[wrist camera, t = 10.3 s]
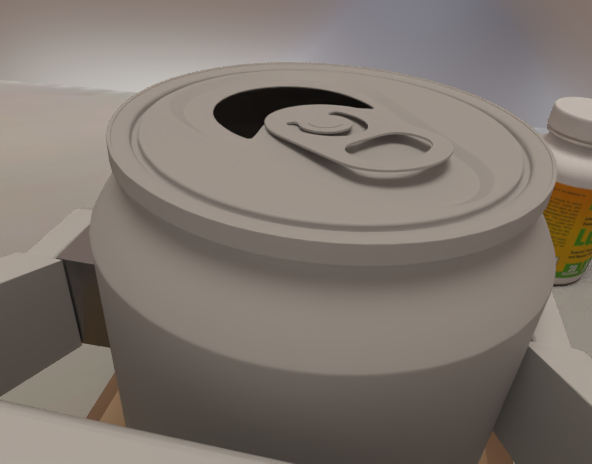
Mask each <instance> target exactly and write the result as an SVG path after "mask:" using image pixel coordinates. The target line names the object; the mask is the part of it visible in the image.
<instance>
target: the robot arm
mask: <svg viewBox="0 0 592 464" xmlns="http://www.w3.org/2000/svg"><path fill="white" fill-rule="evenodd" d="M92 211H93V209H90V208H76V209H75V210H74V211H73V212H72V213H71V214H69V215H68V216H67V217H66V218H65V219H64V220H63V221H62V222H60V223H59V224H58V225H57V226H56V227H55V228H54V229H53V230H51V231H50V232H49V233H48V234H47V235H46V236H45V237H44V238H42V239H41V240H40V241H39V242H38V243H37V244H36V245H35V246H33V247H32V248H31V249H30V250H29V251H28V252H27V253H26V254H25V253H19V252H16V253H13V254H11V255H8V256H5V257H2V258H0V396H2V395H3V394H5V393H7V392H8V391H10V390H11V389H13V388H15V387H16V386H18V385H19V384H21V383H23V382H24V381H26V380H27V379H29V378H31V377H32V376H34V375H36V374H37V373H39V372H40V371H42V370H44V369H45V368H47V367H48V366H50V365H52V364H53V363H55V362H56V361H58V360H60V359H61V358H63V357H64V356H66V355H68V354H69V353H71V352H72V351H74V350H76V349H77V348H79V347H80V346H82V343H85V344H91V345H97V346H103V347H109V348H110V343H109V338H108V333H107V328H106V323H105V318H104V312H103V307H102V302H101V297H100V292H99V287H98V282H97V276H96V271H95V266H94V261H93V256H92V251H91V245H90V238H89V226H90V220H91V215H92ZM493 432H494V433H495V435H496V436H497V438H498V439H499V440H500V442H501V443H502V445H503V446H504V448H505V449H506V451H507V452H508V454H509V455H510V457H511V458H512V460H513V461H514V462H515V464H592V358H590V357H589V356H588V355H587V354H586V353H585V352H583V351H582V350H576V349H572V346H571V343H570V341H569V338H568V335H567V332H566V329H565V327H564V324H563V321H562V318H561V315H560V312H559V310H558V307H557V304H556V301H555V298H554V296H553V293H552V291H551V294H550V296H549V299H548V301H547V303H546V306H545V308H544V310H543V313H542V315H541V317H540V320H539V322H538V324H537V327H536V329H535V332H534V334H533V336H532V339H531V341H530V343H529V346H528V348H527V350H526V353H525V355H524V357H523V360H522V362H521V364H520V367H519V369H518V372H517V374H516V376H515V379H514V381H513V383H512V386H511V388H510V390H509V393H508V395H507V397H506V400H505V402H504V404H503V407H502V409H501V412H500V414H499V416H498V419H497V421H496V423H495V426H494V428H493ZM0 464H294V463H289V462H285V461H280V460H275V459H271V458H266V457H262V456H257V455H252V454H248V453H243V452H238V451H234V450H229V449H225V448H220V447H215V446H211V445H206V444H202V443H197V442H192V441H188V440H183V439H178V438H174V437H169V436H165V435H160V434H155V433H151V432H146V431H141V430H137V429H132V428H128V427H123V426H118V425H114V424H109V423H105V422H100V421H95V420H91V419H86V418H81V417H77V416H72V415H68V414H63V413H58V412H54V411H49V410H44V409H40V408H35V407H31V406H26V405H21V404H17V403H12V402H8V401H3V400H0Z"/></svg>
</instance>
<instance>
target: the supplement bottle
mask: <svg viewBox="0 0 592 464" xmlns="http://www.w3.org/2000/svg"><path fill="white" fill-rule="evenodd" d="M547 129H548V130H549V131H550V132H549V133H546V134H542V135H540V136H541V137H542V138H543V139H544V140H545V141H546V143H547V144H548V145H549V147H550V149H551V150H552V152H553V154H554V157H555V160H556V164H557V178H556V183H555V186H554V189H553V192H552V194H551V197H550V200H549V202H548V205H547V207H546V209H545V210H544V211H543V215H544V218H545V220H546V223H547V226H548V229H549V232H550V236H551V239H552V243H553V246H554V250H555V258H556V273H555V280H554V284H568V283H571V282H574V281H576V280H578V279H579V278H580V277H581V276H582V275H583V274H584V272H585V270H586V268H587V266H588V264H589V262H590V260H591V258H592V99H590V98H582V97H565V98H560V99H558V100H556V102H555V103H554V106H553V108H552V111H551V114H550V116H549V119H548V124H547Z"/></svg>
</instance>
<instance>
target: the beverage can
mask: <svg viewBox="0 0 592 464" xmlns="http://www.w3.org/2000/svg"><path fill="white" fill-rule="evenodd" d="M106 142H107V149H108V156H109V162H110V165H111V169H112V174H111V175H110V177H109V179H108V180H107V182H106V184H105V186H104V187H103V189H102V191H101V193H100V195H99V197H98V199H97V201H96V203H95V206H94V208H93V211H92V215H91V220H90V226H89V238H90V245H91V251H92V256H93V261H94V266H95V271H96V276H97V282H98V287H99V292H100V297H101V302H102V307H103V312H104V318H105V323H106V328H107V333H108V338H109V343H110V348H111V354H112V359H113V364H114V369H115V374H116V379H117V384H118V390H119V395H120V400H121V405H122V410H123V415H124V420H125V426H126V427H128V428H132V429H137V430H141V431H146V432H151V433H155V434H160V435H165V436H169V437H174V438H178V439H183V440H188V441H192V442H197V443H202V444H206V445H211V446H215V447H220V448H225V449H229V450H234V451H238V452H243V453H248V454H252V455H257V456H262V457H266V458H271V459H275V460H280V461H285V462H289V463H294V464H478V463H479V461H480V459H481V456H482V454H483V451H484V449H485V447H486V444H487V442H488V440H489V437H490V435H491V433H492V430H493V428H494V426H495V423H496V421H497V419H498V416H499V414H500V412H501V409H502V407H503V404H504V402H505V400H506V397H507V395H508V393H509V390H510V388H511V386H512V383H513V381H514V379H515V376H516V374H517V372H518V369H519V367H520V364H521V362H522V360H523V357H524V355H525V353H526V350H527V348H528V346H529V343H530V341H531V339H532V336H533V334H534V332H535V329H536V327H537V324H538V322H539V320H540V317H541V315H542V313H543V310H544V308H545V306H546V303H547V301H548V299H549V296H550V294H551V291H552V288H553V285H554V280H555V273H556V258H555V250H554V246H553V243H552V239H551V236H550V232H549V229H548V226H547V223H546V220H545V218H544V215H543V211H544V210H545V209H546V207H547V205H548V202H549V200H550V197H551V194H552V192H553V189H554V186H555V183H556V178H557V164H556V160H555V157H554V154H553V152H552V150H551V149H550V147H549V145H548V144H547V143H546V141H545V140H544V139H543V138H542V137H541V136H540V135H539V134H538V133H537V132H536V131H535V130H534V129H533V128H532V127H531V126H529V125H528V124H527V123H525V122H524V121H523V120H521V119H520V118H518V117H517V116H515V115H514V114H512V113H510V112H509V111H507V110H505V109H503V108H501V107H499V106H498V105H496V104H494V103H491V102H489V101H487V100H485V99H483V98H480V97H478V96H475V95H473V94H470V93H468V92H465V91H462V90H460V89H457V88H454V87H451V86H447V85H444V84H441V83H437V82H434V81H430V80H426V79H422V78H418V77H414V76H410V75H405V74H401V73H395V72H390V71H385V70H379V69H371V68H365V67H357V66H348V65H337V64H325V63H290V62H286V63H285V62H278V63H277V62H276V63H255V64H243V65H233V66H225V67H218V68H212V69H207V70H202V71H197V72H192V73H188V74H185V75H181V76H177V77H174V78H170V79H168V80H165V81H162V82H160V83H157V84H155V85H152V86H150V87H148V88H146V89H144V90H143V91H141V92H139V93H137V94H135V95H134V96H132V97H131V98H129V99H128V100H127V101H126V102H125V103H123V104H122V105H121V106H120V107H119V108H118V109H117V111H116V112H115V113H114V115H113V116H112V118H111V120H110V121H109V124H108V127H107V133H106Z"/></svg>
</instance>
